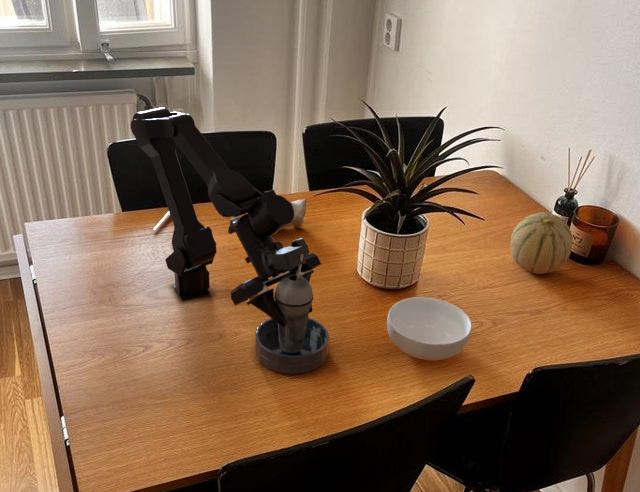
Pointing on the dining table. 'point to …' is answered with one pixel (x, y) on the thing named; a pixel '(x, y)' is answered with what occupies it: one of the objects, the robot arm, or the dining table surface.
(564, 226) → the cantaloupe
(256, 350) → the dark gray pet bowl
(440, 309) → the cereal bowl
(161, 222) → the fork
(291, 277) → the beverage cup
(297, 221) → the ceramic sculpture
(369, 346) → the dining table surface
